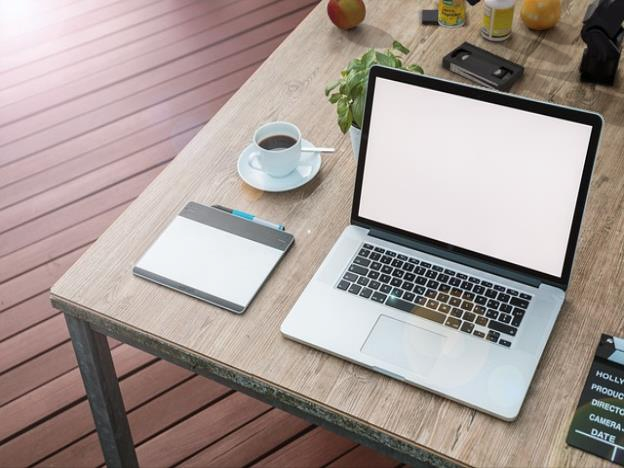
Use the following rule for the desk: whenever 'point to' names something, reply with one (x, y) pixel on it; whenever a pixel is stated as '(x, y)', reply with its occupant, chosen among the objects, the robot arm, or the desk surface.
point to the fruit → (540, 13)
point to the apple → (346, 13)
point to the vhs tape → (482, 66)
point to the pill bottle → (497, 19)
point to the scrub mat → (430, 17)
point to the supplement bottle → (452, 13)
